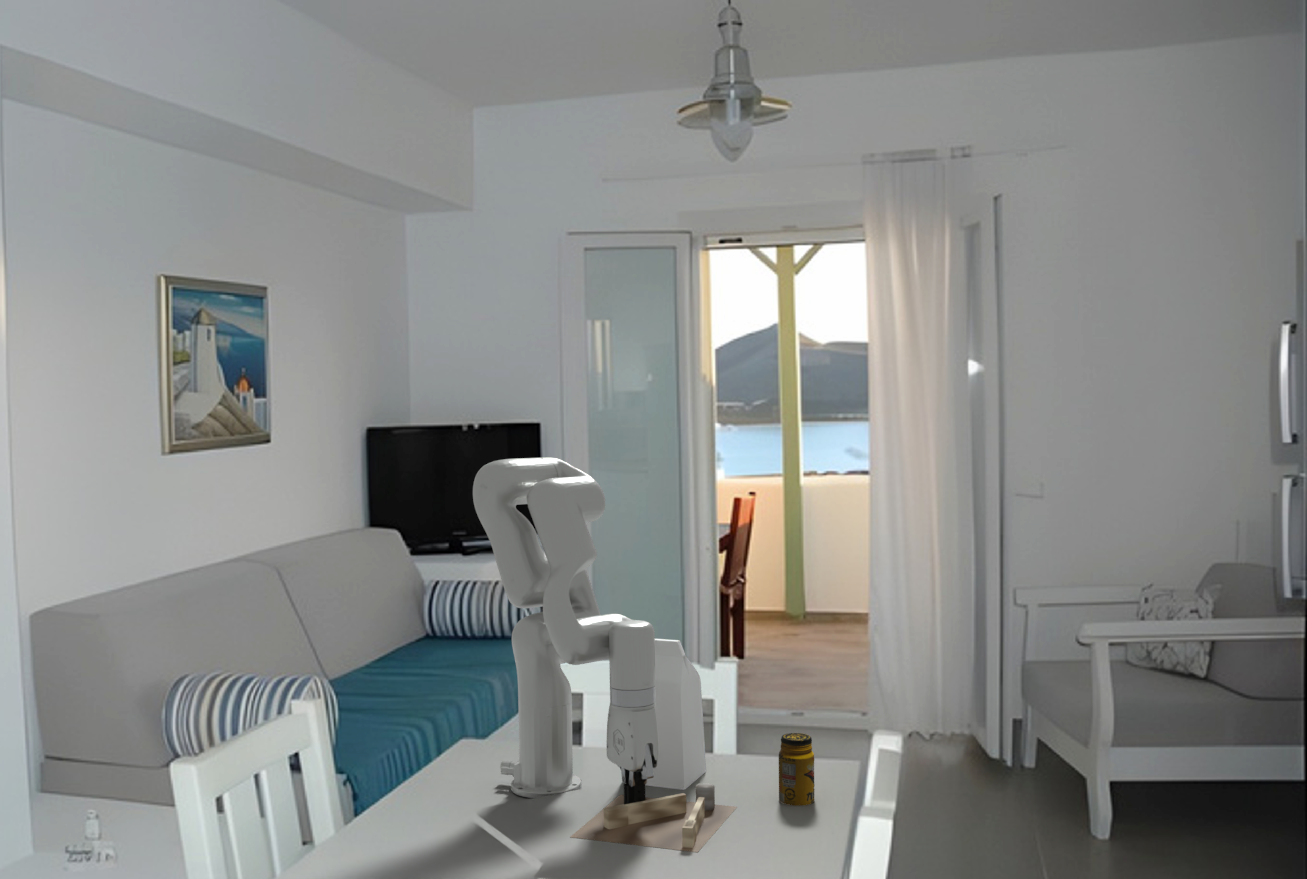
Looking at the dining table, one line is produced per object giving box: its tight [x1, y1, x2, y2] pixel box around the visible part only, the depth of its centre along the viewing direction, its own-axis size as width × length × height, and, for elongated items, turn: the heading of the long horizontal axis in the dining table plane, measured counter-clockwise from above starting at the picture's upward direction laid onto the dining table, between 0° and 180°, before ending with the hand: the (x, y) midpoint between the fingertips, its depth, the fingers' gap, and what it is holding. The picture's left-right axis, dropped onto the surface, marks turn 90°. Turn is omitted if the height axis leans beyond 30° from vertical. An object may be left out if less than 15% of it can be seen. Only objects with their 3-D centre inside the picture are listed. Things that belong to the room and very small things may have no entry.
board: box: [569, 794, 738, 854], centre depth 201 cm, size 21×22×1 cm
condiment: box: [778, 732, 815, 807], centre depth 211 cm, size 7×8×12 cm
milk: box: [621, 638, 707, 791], centre depth 224 cm, size 12×12×26 cm
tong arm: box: [603, 792, 687, 829], centre depth 202 cm, size 15×2×3 cm, turn 120°
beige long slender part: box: [682, 782, 716, 848], centre depth 199 cm, size 20×3×4 cm, turn 169°
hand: (634, 807), depth 204 cm, fingers closed
